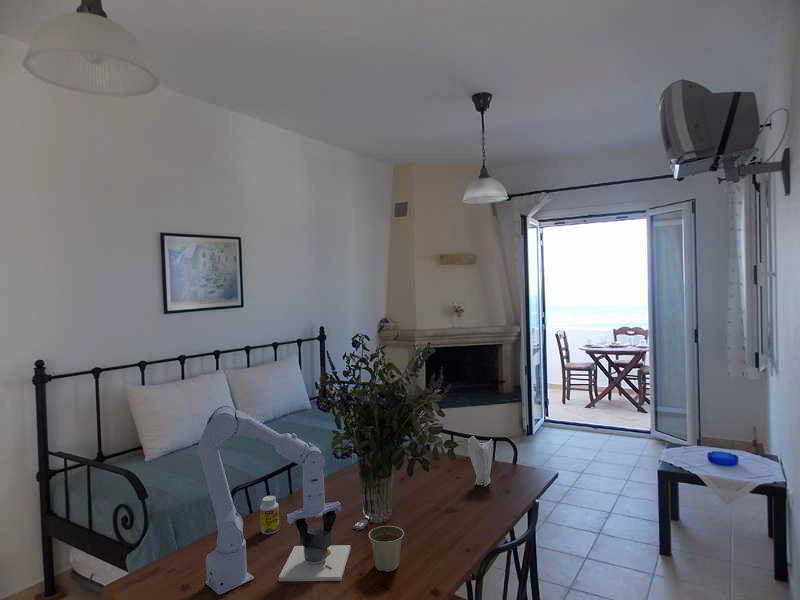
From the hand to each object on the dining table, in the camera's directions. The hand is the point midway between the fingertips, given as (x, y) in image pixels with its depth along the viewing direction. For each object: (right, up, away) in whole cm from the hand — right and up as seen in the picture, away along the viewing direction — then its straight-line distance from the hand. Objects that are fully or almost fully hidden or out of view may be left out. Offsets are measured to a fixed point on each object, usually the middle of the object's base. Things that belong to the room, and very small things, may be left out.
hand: (316, 542), depth 137 cm
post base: (0, -6, 0) cm, 6 cm away
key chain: (+12, -6, +25) cm, 28 cm away
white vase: (+53, -3, +52) cm, 74 cm away
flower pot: (+19, -5, -2) cm, 20 cm away
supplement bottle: (-17, -6, +21) cm, 28 cm away
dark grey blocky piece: (0, -3, 0) cm, 3 cm away
